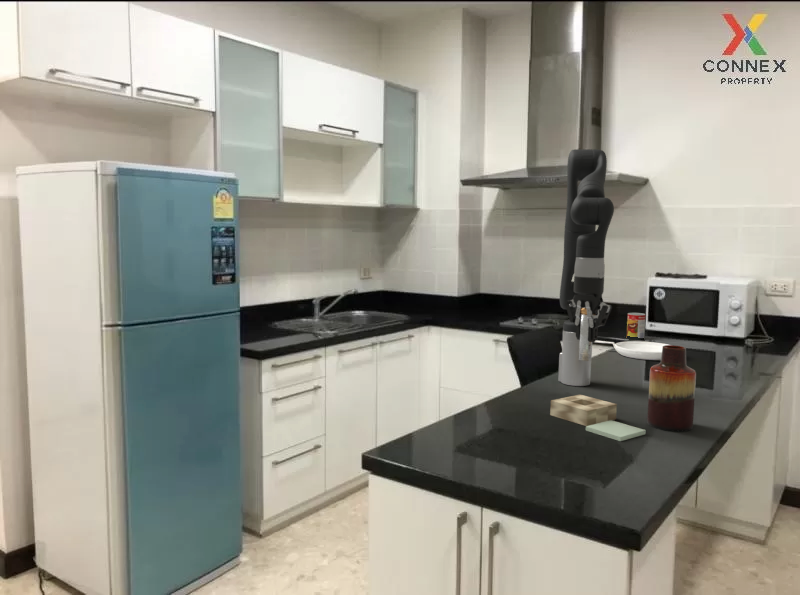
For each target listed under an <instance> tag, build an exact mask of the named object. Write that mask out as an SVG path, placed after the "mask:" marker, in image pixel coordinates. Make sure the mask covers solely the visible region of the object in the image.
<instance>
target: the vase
mask: <svg viewBox="0 0 800 595" xmlns="http://www.w3.org/2000/svg"><path fill="white" fill-rule="evenodd" d="M696 380H697V372H696V370H695V369H694V368H691V367H690V366H688V365H687V348H686V347H685V346H681V345H672V344H668V345H665V346H663V348H662V355H661V360H660V362H659V363H657V364H654V365H652V366H651V367H650V369H649V380H648V381H649V382H648V383H649V384H648V386H649V387H648V400H647V402H648V403H647V418H646V420H647V421H646V422H647V423H646V424H648V426H650V427H652V428H655V429H658V430H661V431H662V430H663V431H668V432H678V431H679V432H688V431H691V430H693V427H694V416H695V415H694V413H695V412H694V411H695V401H696V400H695V395H696Z"/></svg>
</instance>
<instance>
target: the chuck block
mask: <svg viewBox="0 0 800 595" xmlns="http://www.w3.org/2000/svg"><path fill="white" fill-rule="evenodd" d="M617 406H618V403H614V402H610V401H606V400H602V399H599V398H594V397H592V396H587V395H583V394H576V395H571V396H567V397H566V396H565V397H561V398H556V399H551V400H550V411H549V412H550V413H549V415H550V416H552V417H555V418H558V419H561V420H564V421H569V422H571V423H575V424H579V425H581V426H585V427H586V426H589V425H593V424H597V423H601V422H605V421H609V420H612V421H615V420H617V409H618V407H617Z"/></svg>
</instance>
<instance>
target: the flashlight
mask: <svg viewBox="0 0 800 595" xmlns="http://www.w3.org/2000/svg"><path fill="white" fill-rule="evenodd" d="M592 315H593V316H594V314H592ZM589 328H590V325H589V319H588V318H587V310H586V307H582V308H581V322H580V345H579V360H582V361H591V362H592V359H593V358H592V356H593V342H589V341H588V337H589Z"/></svg>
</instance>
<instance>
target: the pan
mask: <svg viewBox="0 0 800 595" xmlns="http://www.w3.org/2000/svg"><path fill="white" fill-rule="evenodd" d="M594 343H599V344H612V345H613V348H614V349H615V351H616V352H617V353H618V354H619V355H621V356H624V357H626V358H630V359H636V360H645V361H661V355H662V348H663V346H665V345H669V344H667V343H661V342H653V341H642V340H627V341H620V342H616V343H615V342H614V341H607V340H606V341H605V340H598V339H597V340H596V341H595V342H594Z"/></svg>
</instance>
